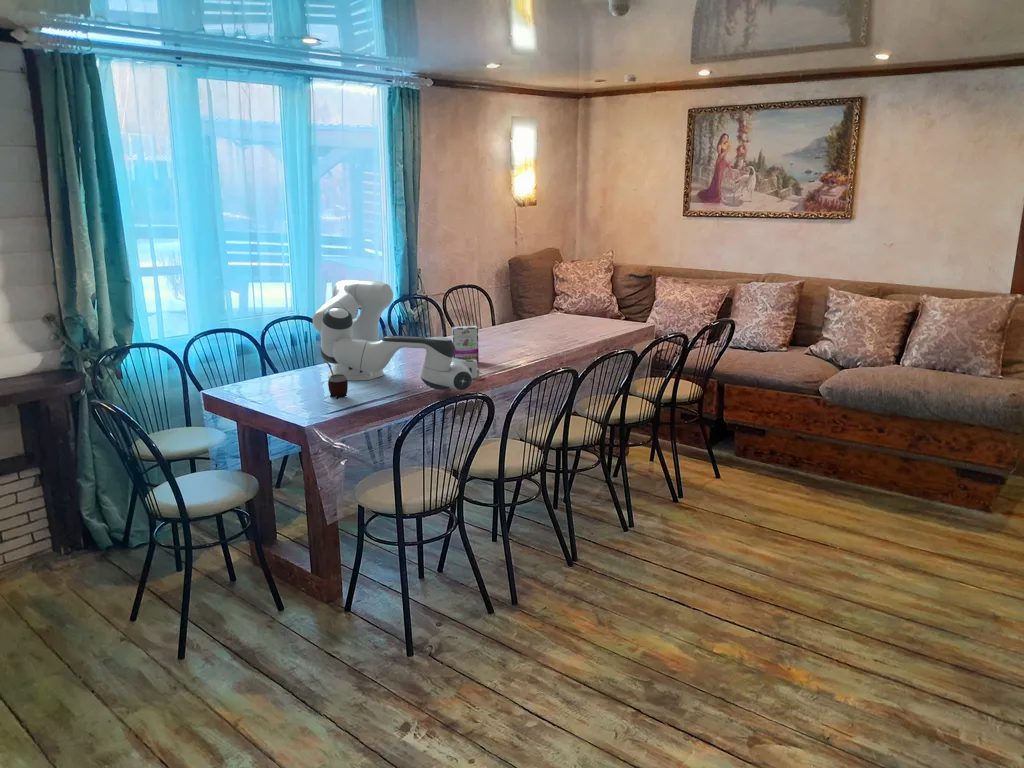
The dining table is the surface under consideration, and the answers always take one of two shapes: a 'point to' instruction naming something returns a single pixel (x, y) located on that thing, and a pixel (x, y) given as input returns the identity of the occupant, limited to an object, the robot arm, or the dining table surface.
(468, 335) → the candy bar box
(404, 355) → the dining table surface
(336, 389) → the mate gourd
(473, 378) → the letter cube
